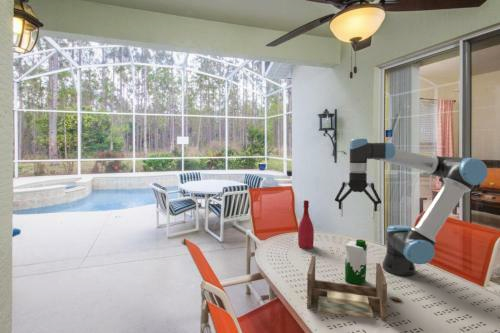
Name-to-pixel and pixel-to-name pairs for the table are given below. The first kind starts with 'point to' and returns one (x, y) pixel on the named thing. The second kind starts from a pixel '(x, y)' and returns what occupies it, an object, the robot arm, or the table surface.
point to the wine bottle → (305, 229)
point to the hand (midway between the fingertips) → (357, 217)
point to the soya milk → (355, 262)
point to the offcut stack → (345, 304)
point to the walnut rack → (349, 289)
